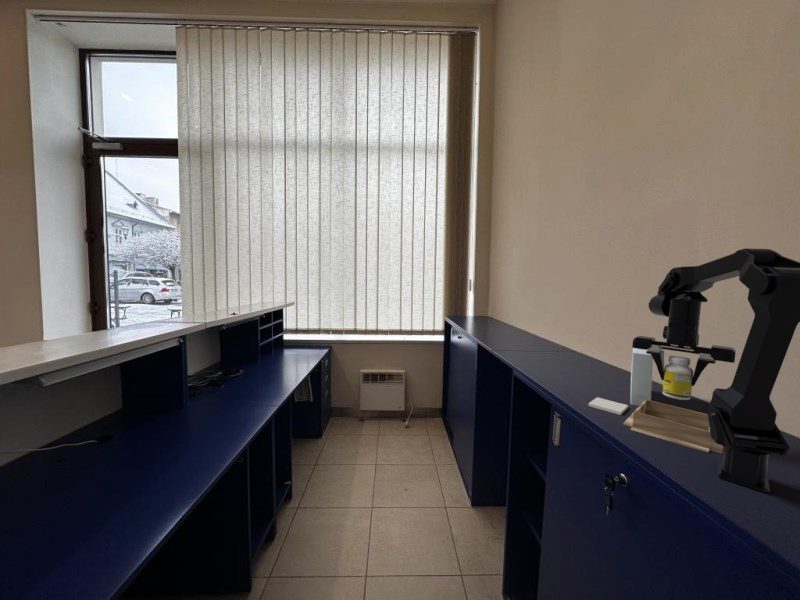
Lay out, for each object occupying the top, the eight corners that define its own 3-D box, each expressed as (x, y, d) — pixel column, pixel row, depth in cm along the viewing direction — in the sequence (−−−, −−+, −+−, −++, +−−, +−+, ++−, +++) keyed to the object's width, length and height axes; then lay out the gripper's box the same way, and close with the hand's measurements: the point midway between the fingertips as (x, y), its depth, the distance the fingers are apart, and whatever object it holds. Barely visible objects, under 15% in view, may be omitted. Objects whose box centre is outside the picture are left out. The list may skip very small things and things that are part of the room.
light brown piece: (721, 457, 69) (723, 438, 69) (620, 426, 82) (622, 411, 82) (724, 432, 81) (726, 416, 81) (636, 409, 94) (638, 395, 94)
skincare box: (629, 387, 116) (633, 342, 115) (648, 390, 112) (652, 344, 111) (628, 404, 98) (632, 351, 97) (650, 409, 95) (655, 354, 94)
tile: (620, 415, 90) (620, 412, 89) (588, 405, 95) (588, 403, 95) (627, 407, 95) (628, 405, 95) (596, 399, 101) (597, 397, 101)
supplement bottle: (660, 391, 85) (663, 353, 84) (687, 395, 82) (691, 357, 81) (664, 397, 80) (668, 357, 79) (693, 402, 77) (697, 361, 77)
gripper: (738, 322, 79) (731, 386, 80) (643, 314, 92) (638, 368, 93) (738, 325, 71) (730, 396, 72) (634, 315, 84) (629, 375, 85)
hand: (677, 382), depth 81 cm, fingers closed on supplement bottle, 5 cm apart
